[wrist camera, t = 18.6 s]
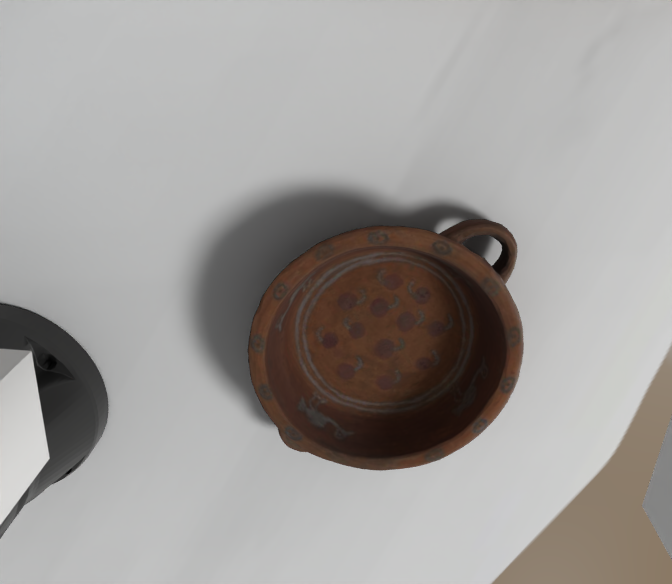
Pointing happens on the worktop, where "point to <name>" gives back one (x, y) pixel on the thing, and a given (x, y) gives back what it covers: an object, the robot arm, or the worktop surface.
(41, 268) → the worktop surface
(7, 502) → the robot arm
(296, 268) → the dish
